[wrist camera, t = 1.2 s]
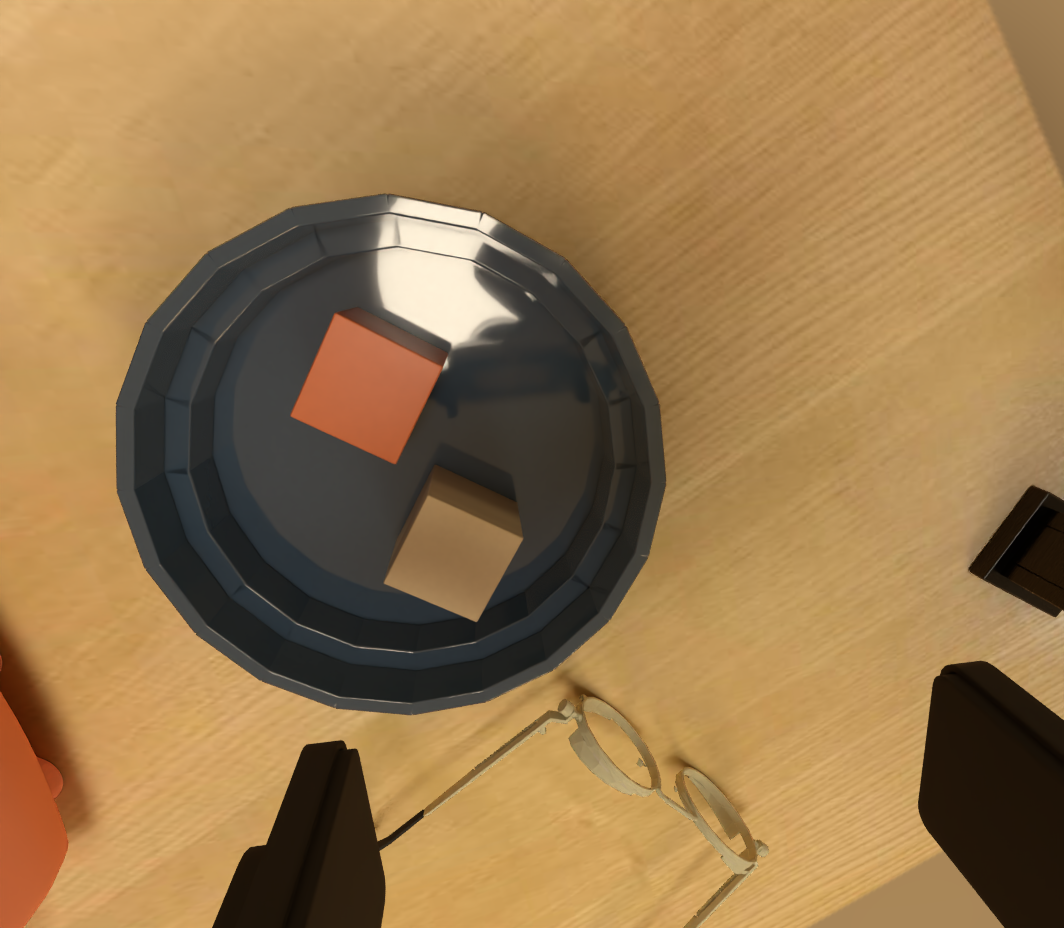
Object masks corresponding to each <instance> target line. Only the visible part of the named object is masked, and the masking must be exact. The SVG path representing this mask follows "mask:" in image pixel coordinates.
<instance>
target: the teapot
mask: <svg viewBox="0 0 1064 928" xmlns="http://www.w3.org/2000/svg"><path fill="white" fill-rule="evenodd" d="M1 669H2V657H1V655H0V671H1ZM62 787H63V779H62V776H61V774H60V772H59V770H58V769H57V768H56V767H55V766H54V765H53V764H51V763H50V762H48V761H46V760H44V759H41V758H39V757H36V755H35V753H34V751H33V749H32V747H31V745H30V743H29V741H28V739H27V737H26V735H25V733H24V731H23V729H22V728H21V726H20V724H19V722H18V720H17V718H16V717H15V715H14V713H13V712H12V710H11V708H10V707H9V705H8V703H7V702H6V700H5V698H4V697H3V695H2V693H1V692H0V928H23V927H24V926H25V925H26V923H27V922H28V921H29V920H30V918H31V917H32V915H33V914H34V913H35V911H36V910H37V908H38V907H39V906H40V904H41V903H42V901H43V900H44V899H45V897H46V895H47V894H48V892H49V890H50V888H51V887H52V885H53V883H54V880H55V878H56V876H57V874H58V872H59V869H60V867H61V865H62V863H63V860H64V858H65V855H66V852H67V849H68V839H67V834H66V830H65V827H64V824H63V822H62V819H61V816H60V813H59V810H58V808H57V806H56V803H55V801H54V798H56V797H57V796H58V795H59V793H60V792H61V790H62Z"/></svg>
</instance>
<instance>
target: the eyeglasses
mask: <svg viewBox="0 0 1064 928" xmlns="http://www.w3.org/2000/svg"><path fill="white" fill-rule="evenodd" d="M580 699H581V700H582V702H581V703H580V704H579V705H577V707H575V706H574V705H573V704H572V703H571V702H569V701H568V700H566V699H564V700H562V701H561V702H560V704H559V706H558V711H559V712H557V711H550V710H549V711H547V712H546V713H545V714H544V715H542V716H541V717H540V718H538V719H537V720H535V722H532V723H533V724H532V723H531V725H530V726H528V727H526V728H525V729H524V730H522V732H520V733H519V734H517V735H516V736H515V737H513V738H512V739H510V741H508V742H507V743H505V745H502V746H501V748H499V749H498V750H497V751H496V752H494V753H493V754H492V755H490V757H488V758H487V760H486V759H485V760H484V761H483V762H482V763H480V764H478V765H477V766H476V767H475V770H474V769H472V770H471V771H470V772H469V773H468V774H467V775H465V776H464V777H463V778H462V779H460V780H459V781H458V782H457V783H455V784H454V785H453V786H452V787H451V788H449V789H448V790H447V791H446V792H444V793H443V794H442V795H441V796H439V797H438V798H437V799H436V800H435V801H433V802H432V803H431V804H430V805H428V806H427V807H426V808H425V810H422V811H420V812H419V813H418V814H417V815H415V816H414V817H413V818H411V819H410V820H409V821H408V822H406V823H405V824H404V825H402V826H401V827H400V828H399V829H397V830H396V831H395V832H393V833H392V834H391V835H390V836H388V837H386V838H384V839H382V840H380V841H378V847H379V851H380V850H382V849H383V848H385V847H386V846H388V845H389V844H391V843H392V842H393V841H395V840H396V839H397V838H398V837H400V836H401V835H402V834H403V833H405V832H406V831H407V830H408V829H410V828H411V827H412V826H413V825H415V824H416V823H417V822H418V821H419V820H421V819H422V818H423V817H424V816H427V815H429V814H431V813H432V812H433V811H435V810H436V809H437V808H439V807H440V806H441V805H443V804H444V803H445V802H446V801H448V800H449V799H450V798H452V797H453V796H454V795H456V794H457V793H458V792H460V791H461V790H462V789H463V788H465V787H466V786H467V785H469V784H470V783H471V782H473V781H474V780H475V779H477V778H478V777H479V776H481V775H482V774H483V773H484V772H486V771H487V770H488V769H490V768H491V767H492V766H494V765H495V764H496V763H498V762H499V761H500V760H502V759H503V758H504V757H505V756H507V755H508V754H509V753H511V752H512V751H513V750H515V749H516V748H517V747H519V746H520V745H521V744H522V743H524V742H525V741H526V740H528V739H529V738H530V737H532V736H533V735H534V734H536V733H537V732H540V733H541V734H542V735H543V734H546V727H545V726H546V725H547V724H549V723H550V722H556V723H563V724H567V723H568V722H569V721H570V720H571V719H572V718H575V719H576V721H577V724H578V727H579V728H578V729H577V730H576V731H575V732H574V733H573V734H572V735H571V736H570V737H569V741H570V744H571V746H572V748H573V750H574V751H575V753H576V754H577V756H578V757H579V759H580V760H581V761H582V762H583V763H584V764H585V765H586V766H587V768H588V769H589V770H590V771H591V772H592V773H594V774H595V775H596V776H597V777H598V778H600V779H601V780H602V781H603V782H604V783H606V784H607V785H609V786H611V787H613V788H615V789H617V790H618V791H620V792H622V793H625V794H628V795H632V794H636V795H639V796H641V797H646V796H650V795H651V794H652V793H653V792H654V791H655V790H656V792H657V794H658V795H659V797H661V798H662V799H663V800H664V801H665V803H666V804H668V805H669V806H671V807H672V808H674V809H675V810H677V811H678V812H680V813H681V814H682V815H684V816H685V817H687V818H688V819H689V820H693V822H694V823H695V825H696V826H697V827H698V829H699V830H700V831H701V833H702V834H703V835H704V837H705V838H706V839H707V840H708V841H709V842H710V843H711V845H712V846H713V847H714V848H715V849H716V850H717V851H718V852H719V853H720V854H721V855H722V856H721V859H722V860H723V861H724V863H725V864H726V865H727V866H728V867H729V868H730V869H731V870H732V871H733V872H734V875H732V876H731V878H729V879H728V880H727V882H726V883H724V884H723V886H721V888H719V890H718V891H717V892H716V893H715V894H714V895H713V896H712V897H711V898H710V899H709V900H708V901H707V902H706V903H705V905H703V907H701V909H699V910H698V912H697V915H694V916H693V918H692V919H691V920H690V921H689V922H688V923H687V924H686V925H685V926H684V928H699V927H700V926H701V925H702V924H703V923H704V922H705V921H706V920H707V919H708V918H709V917H710V916H711V914H712V913H713V912H714V911H715V910H716V909H717V908H718V907H719V906H720V905H721V904H722V903H723V902H724V901H725V900H726V899H727V898H728V897H729V896H730V895H731V894H732V893H733V892H734V891H735V890H736V889H737V888H738V887H739V886H740V885H741V884H742V883H743V881H744V880H745V879H746V878H747V877H748V876H749V875H750V874H751V873H752V872H753V871H754V870H755V869H756V868H757V867H758V863H757V855H759V856H761V857H765V856H767V855H768V852H769V849H768V846H767V845H766V844H765V843H763V842H762V841H760V840H756V841H755V840H754V839H753V838H752V836H751V834H750V831H749V829H748V828H747V826H746V824H745V823H744V821H743V820H742V818H741V817H740V815H739V813H738V812H737V810H736V809H735V808H734V806H733V805H732V804H731V803H730V801H729V800H728V799H727V797H726V796H725V795H724V794H723V793H722V792H721V791H720V790H719V789H718V787H717V786H716V785H715V784H714V783H713V782H711V781H710V780H709V779H708V778H707V777H706V776H704V775H703V774H702V773H700V772H699V771H698V770H695V769H693V768H691V767H684V768H683V769H682V770H681V771H680V772H679V773H678V774H677V775H676V781H675V783H676V786H677V787H675V786H674V789H675V792H677V791H678V793H679V796H680V799H681V801H682V802H683V804H684V806H685V808H686V810H685V809H684V808H683V807H681V806H680V805H678V804H677V803H675V802H674V801H673V800H671V799H670V798H668V797H666V796H665V795H664V794H663V792H662V791H661V779H660V775H659V771H658V768H657V765H656V762H655V760H654V758H653V756H652V755H651V753H650V751H649V749H648V747H647V745H646V744H645V742H644V741H643V740H642V738H641V737H640V736H639V734H638V733H637V732H636V731H635V729H634V728H633V727H632V725H631V724H630V723H629V722H628V721H627V720H626V719H625V718H624V717H623V716H622V715H621V714H620V713H619V712H618V711H616V710H615V709H614V708H613V707H611V706H610V705H609V704H607V703H606V702H604V701H602V700H600V699H598V698H595V697H587V696H586V695H585V694H583V695H580ZM584 711H586V712H592V713H597V714H599V715H601V716H603V717H605V718H607V719H609V720H611V719H613V720H614V721H615V722H616V723H617V724H618V725H619V726H620V727H621V728H622V729H623V731H624V732H625V733H626V734H627V735H628V736H629V738H630V739H631V740H632V742H633V743H634V744H635V746H636V747H637V749H638V750H639V752H640V754H641V755H642V757H643V759H644V761H645V764H646V765H644V764H643V761H642V760H641V759H640V758H639V759H638V762H637V765H638V766H639V767H641V766H643V765H644V766H645V767H648V770H649V773H650V777H651V788H647V787H644V786H641V785H639V784H638V783H636V782H634V781H633V780H631V779H630V778H629V777H628V776H627V775H626V774H624V773H623V772H622V771H621V770H620V769H619V768H618V767H617V766H615V764H614V763H613V762H612V761H611V759H610V758H609V757H608V756H607V754H606V753H605V752H604V751H603V750H602V748H601V747H600V746H599V744H598V742H597V740H596V739H595V737H594V735H593V733H592V732H591V730H590V728H589V726H588V724H587V720H586V717H585V714H584ZM536 721H537V722H536ZM523 732H524V733H523ZM497 752H498V753H497ZM684 775H688V778H689V779H690V780H691V781H692V782H693V783H694V784H695V786H696V787H697V788H698V790H699V791H700V792H701V794H702V795H703V797H704V798H705V799H706V801H707V802H708V804H709V805H710V807H711V808H712V810H713V812H714V813H715V815H716V817H717V818H718V820H719V822H720V824H721V825H722V827H723V829H724V831H725V832H726V834H727V836H728V837H729V839H730V840H731V839H732V838H734V837H735V836H736V835H737V834H739V833H740V834H741V836H742V838H743V840H744V842H745V845H746V847H747V848H746V849H745V850H744V851H743V852H742V853H741V854H740V855H737V854H736V853H735V852H734V851H732V850H731V849H730V848H729V847H728V846H727V845H725V844H724V842H723V841H722V840H721V839H720V838H719V837H718V836H717V835H716V834H715V833H714V832H713V830H712V829H711V828H710V827H709V825H708V824H707V822H706V821H705V820H704V818H703V817H702V815H701V814H700V813H699V811H698V810H697V808H696V806H695V804H694V803H693V801H692V799H691V797H690V795H689V793H688V791H687V788H686V786H685V782H684V778H683V776H684ZM728 884H729V885H728ZM723 888H724V889H723ZM720 891H721V892H720ZM696 916H698V917H696Z"/></svg>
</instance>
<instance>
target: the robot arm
mask: <svg viewBox="0 0 1064 928" xmlns="http://www.w3.org/2000/svg"><path fill="white" fill-rule="evenodd" d="M918 809H919V814H920V817H921V819H922V822H923V824H924V826H925V827H926V829H927V830H928V832H929V833H930V834H931V835H932V837H933V838H934V839H935V840H936V842H937V843H938V844H939V846H940V847H941V848H942V849H943V851H944V852H945V853H946V854H947V856H948V857H949V858H950V859H951V861H952V862H953V863H954V864H955V866H956V867H957V868H958V870H959V871H960V872H961V873H962V874H963V876H964V877H965V878H966V879H967V881H968V882H969V883H970V885H971V886H972V887H973V888H974V890H975V891H976V892H977V893H978V895H979V896H980V897H981V898H982V900H983V901H984V902H985V904H986V905H987V906H988V907H989V909H990V910H991V911H992V912H993V914H994V915H995V916H996V917H997V919H998V920H999V921H1000V922H1001V924H1002V925H1003V926H1004V928H1064V720H1063V719H1061V718H1060V717H1059V716H1058V715H1056V714H1055V713H1054V712H1052V711H1051V710H1050V709H1049V708H1047V707H1046V706H1045V705H1043V704H1042V703H1041V702H1039V701H1038V700H1037V699H1036V698H1034V697H1033V696H1032V695H1030V694H1029V693H1028V692H1027V691H1025V690H1024V689H1023V688H1021V687H1020V686H1019V685H1018V684H1016V683H1015V682H1014V681H1012V680H1011V679H1010V678H1009V677H1007V676H1006V675H1005V674H1003V673H1002V672H1001V671H1000V670H998V669H997V668H996V667H994V666H993V665H991V664H990V663H988V662H985V661H975V662H967V663H959V664H951V665H947V666H945V667H944V668H943V669H942V670H941V674H940V676H937V677H936V678H935V679H934V682H933V687H932V695H931V703H930V711H929V719H928V727H927V736H926V744H925V752H924V760H923V768H922V776H921V784H920V792H919V800H918ZM384 905H385V876H384V871H383V866H382V861H381V856H380V852H379V847H378V842H377V838H376V833H375V828H374V823H373V819H372V814H371V809H370V804H369V800H368V795H367V790H366V785H365V781H364V776H363V771H362V766H361V762H360V757H359V753H358V751H357V749H348V750H347V748H346V744H345V743H344V741H342V740H340V741H332V742H324V743H316V744H308V745H306V746H305V747H304V748H303V750H302V752H301V754H300V757H299V760H298V762H297V765H296V767H295V770H294V773H293V775H292V778H291V781H290V783H289V786H288V789H287V791H286V794H285V797H284V799H283V802H282V804H281V807H280V810H279V812H278V815H277V818H276V820H275V823H274V826H273V828H272V831H271V834H270V836H269V839H268V841H267V844H266V845H262V846H255V847H250V848H249V849H248V850H247V851H246V852H245V853H244V854H243V856H242V858H241V860H240V862H239V864H238V866H237V869H236V871H235V874H234V876H233V878H232V881H231V883H230V886H229V888H228V891H227V893H226V895H225V898H224V900H223V903H222V905H221V908H220V910H219V912H218V915H217V917H216V920H215V922H214V924H213V927H212V928H381V924H382V918H383V911H384Z"/></svg>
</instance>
